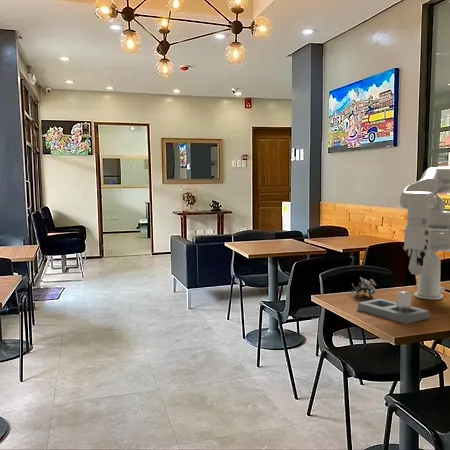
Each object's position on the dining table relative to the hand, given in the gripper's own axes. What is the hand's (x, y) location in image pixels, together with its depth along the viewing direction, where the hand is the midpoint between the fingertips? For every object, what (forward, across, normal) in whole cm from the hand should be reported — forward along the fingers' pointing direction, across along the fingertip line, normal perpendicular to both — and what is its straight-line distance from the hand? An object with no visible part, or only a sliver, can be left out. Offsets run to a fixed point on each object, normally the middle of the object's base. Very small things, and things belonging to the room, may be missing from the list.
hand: (416, 266), depth 184 cm
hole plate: (+19, +1, +11) cm, 22 cm away
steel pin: (+19, -4, +11) cm, 22 cm away
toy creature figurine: (+19, +29, +2) cm, 35 cm away
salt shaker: (+3, 0, 0) cm, 3 cm away
